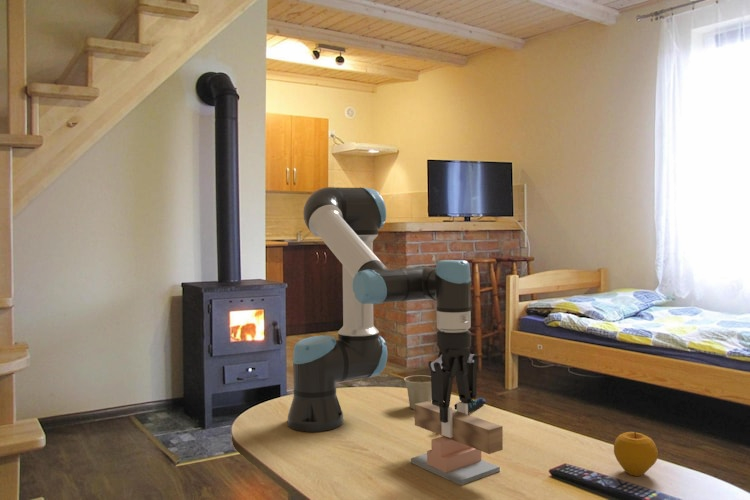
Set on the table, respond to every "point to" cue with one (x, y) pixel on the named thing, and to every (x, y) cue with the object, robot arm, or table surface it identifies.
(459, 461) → the pink stepped block
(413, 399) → the flower pot
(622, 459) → the apple
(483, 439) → the batten
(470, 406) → the knife
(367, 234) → the robot arm
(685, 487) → the table surface
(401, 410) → the table surface
